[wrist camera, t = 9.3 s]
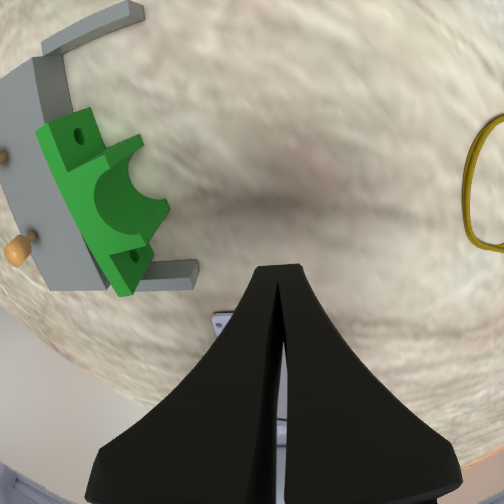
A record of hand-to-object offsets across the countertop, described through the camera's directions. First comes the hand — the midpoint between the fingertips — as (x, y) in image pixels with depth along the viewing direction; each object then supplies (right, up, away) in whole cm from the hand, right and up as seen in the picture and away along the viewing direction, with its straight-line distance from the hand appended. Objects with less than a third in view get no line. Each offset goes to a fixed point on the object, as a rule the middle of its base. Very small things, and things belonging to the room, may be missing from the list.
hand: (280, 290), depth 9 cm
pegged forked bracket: (-12, +7, +8) cm, 16 cm away
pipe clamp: (-9, +6, +9) cm, 13 cm away
